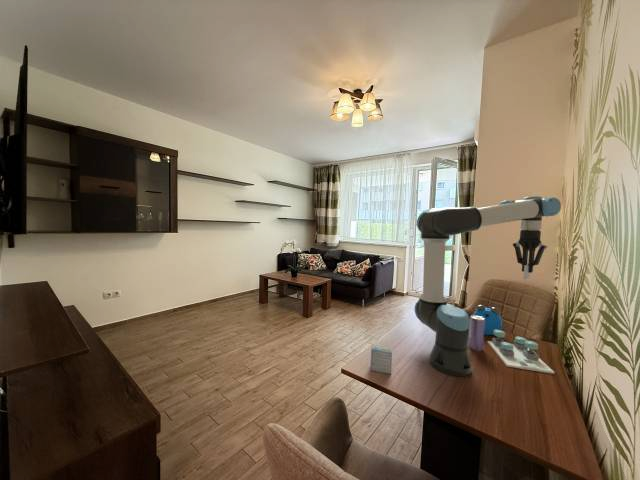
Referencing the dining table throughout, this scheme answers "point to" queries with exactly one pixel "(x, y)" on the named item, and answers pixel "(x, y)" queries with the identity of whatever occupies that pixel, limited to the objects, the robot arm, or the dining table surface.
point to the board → (519, 357)
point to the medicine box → (381, 359)
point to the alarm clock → (489, 318)
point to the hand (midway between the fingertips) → (526, 278)
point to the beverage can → (476, 332)
